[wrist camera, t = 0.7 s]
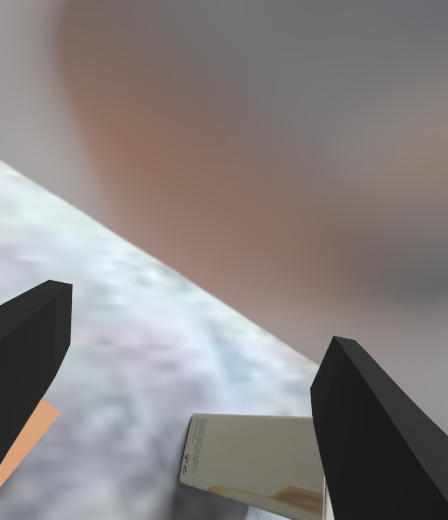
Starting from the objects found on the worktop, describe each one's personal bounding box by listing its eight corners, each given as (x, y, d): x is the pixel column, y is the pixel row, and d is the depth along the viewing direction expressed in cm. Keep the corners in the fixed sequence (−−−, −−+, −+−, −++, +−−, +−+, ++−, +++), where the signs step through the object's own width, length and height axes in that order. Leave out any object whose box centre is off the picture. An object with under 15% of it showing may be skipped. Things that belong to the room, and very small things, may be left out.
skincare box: (175, 482, 24) (316, 534, 14) (191, 410, 26) (324, 413, 16) (256, 497, 27) (420, 548, 17) (264, 430, 29) (416, 443, 19)
